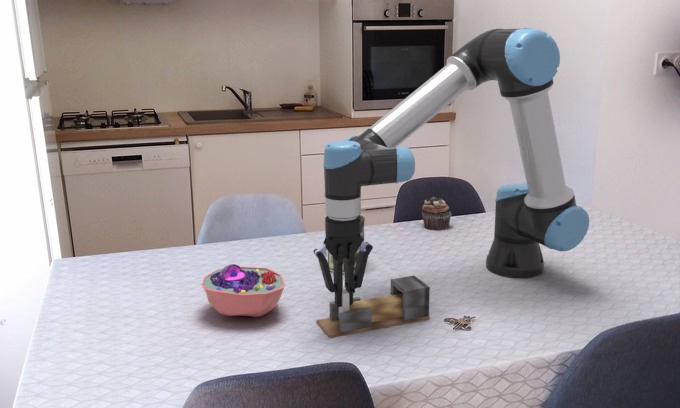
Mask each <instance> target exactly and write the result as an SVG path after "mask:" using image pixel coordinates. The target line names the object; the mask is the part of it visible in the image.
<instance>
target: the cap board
mask: <svg viewBox="0 0 680 408" xmlns="http://www.w3.org/2000/svg"><path fill="white" fill-rule="evenodd" d="M395 294H403V310H402V317H398V318H393V319H387V320H382V321H376V322H372V309H370V308H364V309H358V310H353V311H347V312H341V313H339V307H337V306H336V305H335V300H333V301H332V300H331V301H329V307H328V308H329V317H326V318H320V319H317V320H316V324H317V325H318V326H319V327H320V329H321V330H322V332H324V334H325V335H326V336H327V337H328V338H329V339H330V338H336V337H341V336H348V335H353V334H357V333H362V332H368V331H374V330H377V329H383V328H388V327H394V326H398V325H399V326H400V325H405V324H410V323H416V322H421V321H425V320H426V321H427V320H430V286H429V285H428V284H426V283H425V282H424V281H422V280H421V279H419V278H418V277H417V276H416V275H411V276H410V275H409V276H404V277H398V278H397V277H396V278H392V279H390V295H395ZM360 300H362V299H361V297H359V296H355V297H353V302H354V301H360Z"/></svg>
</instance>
